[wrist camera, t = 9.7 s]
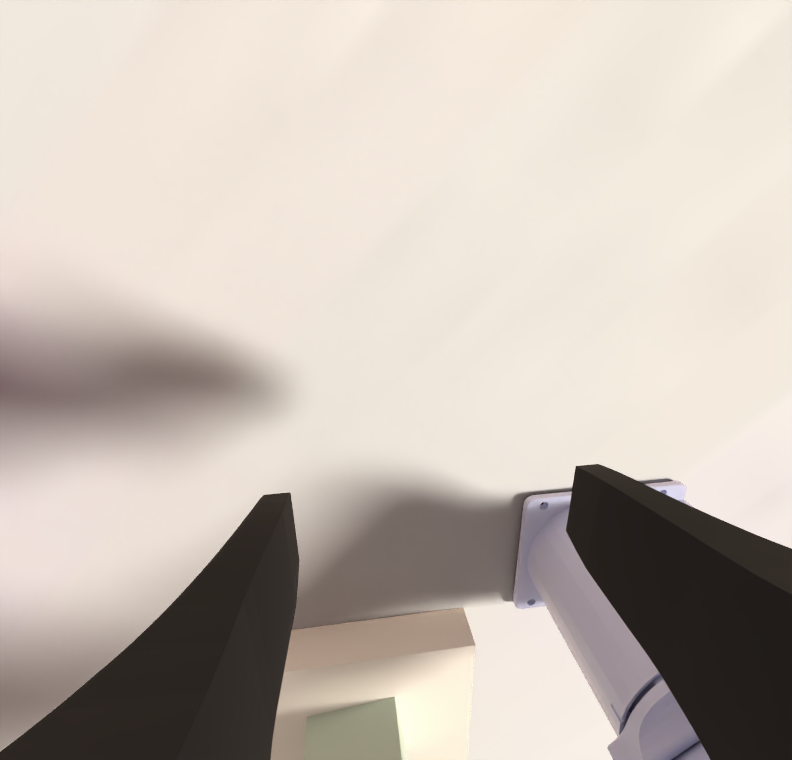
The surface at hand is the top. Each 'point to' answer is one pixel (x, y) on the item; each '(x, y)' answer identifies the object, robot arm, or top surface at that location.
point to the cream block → (383, 680)
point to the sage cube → (356, 733)
